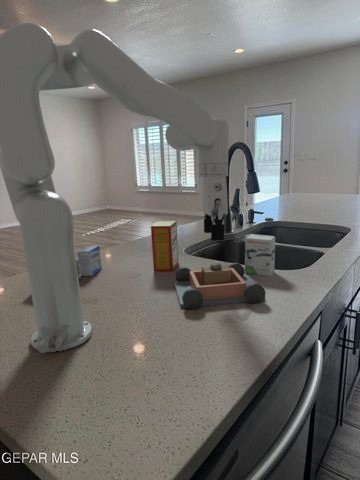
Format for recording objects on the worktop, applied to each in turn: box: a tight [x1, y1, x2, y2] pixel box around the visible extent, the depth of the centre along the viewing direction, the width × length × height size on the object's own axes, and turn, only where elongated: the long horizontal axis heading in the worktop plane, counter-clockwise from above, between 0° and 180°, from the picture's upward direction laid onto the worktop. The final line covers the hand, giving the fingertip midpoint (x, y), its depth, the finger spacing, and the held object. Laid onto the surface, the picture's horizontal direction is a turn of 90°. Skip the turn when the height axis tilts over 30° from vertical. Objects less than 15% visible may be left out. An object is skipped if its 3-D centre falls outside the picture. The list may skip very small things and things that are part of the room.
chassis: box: [173, 262, 266, 310], centre depth 92 cm, size 19×22×5 cm
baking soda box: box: [150, 220, 180, 273], centre depth 115 cm, size 10×6×16 cm
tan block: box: [201, 262, 231, 286], centre depth 92 cm, size 5×7×7 cm
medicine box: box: [77, 245, 103, 277], centre depth 114 cm, size 8×4×9 cm, turn 168°
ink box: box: [244, 233, 276, 277], centre depth 106 cm, size 9×5×12 cm, turn 61°
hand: (213, 236), depth 89 cm, fingers open, 9 cm apart
